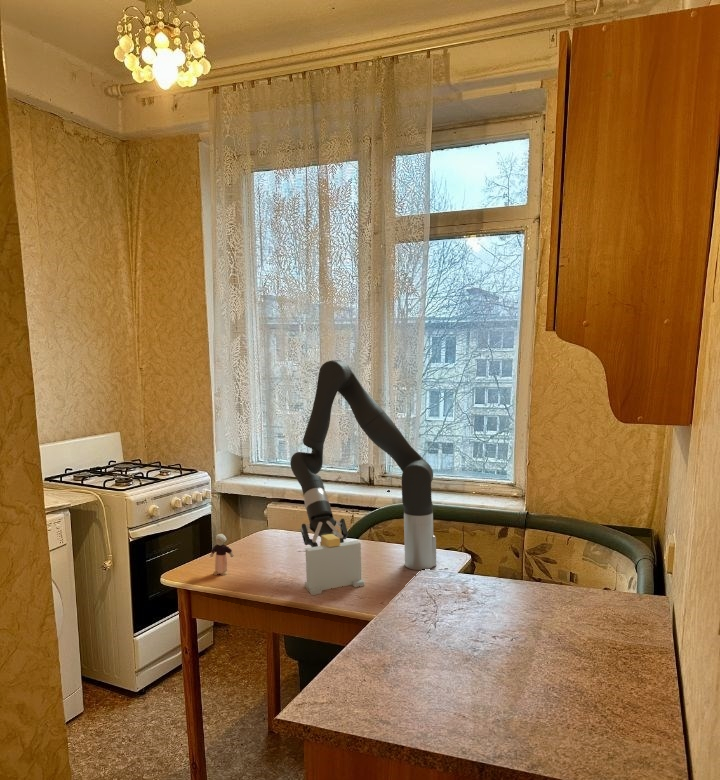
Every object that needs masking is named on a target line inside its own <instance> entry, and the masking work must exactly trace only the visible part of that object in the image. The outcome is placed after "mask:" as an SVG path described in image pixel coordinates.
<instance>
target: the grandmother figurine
mask: <svg viewBox="0 0 720 780" xmlns="http://www.w3.org/2000/svg"><path fill="white" fill-rule="evenodd" d="M226 541H227V537H226V536H225V535H224V534H223V533H218V534H216V535H215V542H216V545H214V546H213V547H212V549H211V552H210V555H209V557H210V558H214V559H215V560H214V561H215V564H214V566H215V567H214V571H213V573H212V575H213V574H214V575H213V576H216V575H217V574H218V575H219V574H220V576H226V574H227V575H228V573H229V572H228V558H227V557H228V556H227V554H228V555H229V556H230V558H234V556H235V555H234V553H233V550H232V548H230V547H229V546H228V545H225V542H226ZM214 555H215V557H214ZM218 575H217V576H218Z"/></svg>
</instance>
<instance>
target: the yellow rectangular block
mask: <svg viewBox="0 0 720 780" xmlns="http://www.w3.org/2000/svg"><path fill="white" fill-rule="evenodd" d="M319 543H320V544H319V546H324V545H327V546H328V547H333V546H340V538H338V537H336V536H335V535H333V534H325V535H321V537H320V542H319Z"/></svg>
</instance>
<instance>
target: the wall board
mask: <svg viewBox="0 0 720 780" xmlns="http://www.w3.org/2000/svg"><path fill="white" fill-rule="evenodd" d="M361 547H362V543H361V542H360V541H359V540H352V541H344V543H340V546H333V547H328V546H327V545H324V546H320V545H318V546H317V547H312V546H311V547H305V572H306V573H305V574H306V581H305V582H304V587H305V588H306V589H307V591H308V593H310V595H311V596H315V595H321V594H322V592H323V591H325V590H332V589H336V588H341V587H342V586H343V587H348V586H352V587H354V588H360V587H363V586H364V587H365V581H364V580H363V579H362V548H361ZM359 586H360V587H359ZM343 587H342V588H343ZM331 588H332V589H331Z"/></svg>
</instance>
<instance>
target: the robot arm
mask: <svg viewBox="0 0 720 780" xmlns="http://www.w3.org/2000/svg"><path fill="white" fill-rule="evenodd" d="M316 382H317V383H316V391H315V396H314V400H313V406H312V408H311V413H310V416H309V420H308V423H307V426H306V428H305V431H304V435H303V437H302V438H303V439H302V444H303V445H304V446H305V447H307V448H309V449H311V452H304V451H297V452H295V453H294V454H292V456H291V458H290V469H291V471H292V473H293V475H294V477H295V478H296V480H297V482H298V483H299V485H300V486H301V491H302V496H303V499H304V507H305V510H306V514H307V518H308V523H309V524H306V523H302V524H301V526H300V531H301V536H302V537H301V538H302V540H303V544H304V545H305V546H311V547H317V546H319V545H318V542H317V541H318V540H317V539H318V537H320V538H321V535H325V534H333V535H335V536H336V537H338V538H340V543H344V542H345V540H347V538H348V536H349V531H348V528H347V524H346V520H345V518H341V519H339V520H338V519H337V520H336V518H334V515H333V514H334V513H333V511H332V508H331V507H332V506H331V504H330V500H329V497H328V495H327V492H326V490H325V486H324V483H323V480H322V478H321V476H320V475H318V474H319V473H320V471H321V470H322V467H323V465H324V464H323V462H324V460H323V459H324V445H325V441H326V438H327V435H328V431H329V428H330V424H331V423H330V422H331V415H332V408H333V404H334V400H335V398H336V397H337V394H338V393H339V394H340V395H341V396H342V398H344V400H345V402H347V403H348V406H349V407H350V409H351V411H352V415H353V416H354V418H355V420H356V422H357V424H358V425H359V427H360V428H361V430H362V431H363V432H364V434H365V435H366V436H367V437H368V438H369V439H370V441H372V443H373V444H374V445H376V446H377V447H378V448H379V449H380V450H381V451H384V452H385V453H386V454H387V455H388V456H389V457H391V458H392V460H393V461H394V462H395V463H396V465H397V466H398V468H399V469H400V470H401V472H402V474H401V500H402V506H403V530H404V531H403V532H404V533H403V535H404V537H403V539H404V566H405V567H406V568H407V569H411V570H415V571H423V570H422V569H426V570H430V569H431V568H433V567H436V566H437V537H436V535H434V506H433V501H432V482H433V478H434V471H433V469H432V466H431V465H430V464H429V463H428V462H427V461H426V460H425V458H423V457H422V456H421V455H420V454H419V452H417V451H416V450H415V449H414V448H413V447H412V445H410V443H409V442H408V441H407V439H406V438H405V436H404V435H403V434H402V432H401V430H400V429H399V428H398V427H397V425H396V424H395V423H394V421H393V420H392V419H391V418H390V416H389V415H388V414H387V413H386V411H385V410H384V409H383V408H382V407H381V406H380V405H379V404H378V403H377V401H376V400H375V399H374V397H372V395H370V393H368V391H367V390H366V389H365V388H364V386H363V385H362V384H361V382H360V380H359V379H358V377H357V376H356V374H355V373H354V371H353V370H352V368H351V367H350V365H349V364H348V363H347V362H345V361H343V360H341V359H335V360H334V359H333V360H328V361H325V362H323V364H322V365H321V366H320V368H319V371H318V376H317V381H316ZM336 526H337V527H338V528H339V529H340V531H339V529H337V527H336ZM309 530H310V531H312V532H313V533H314V534H313V536H312V538H310V535H309Z"/></svg>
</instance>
